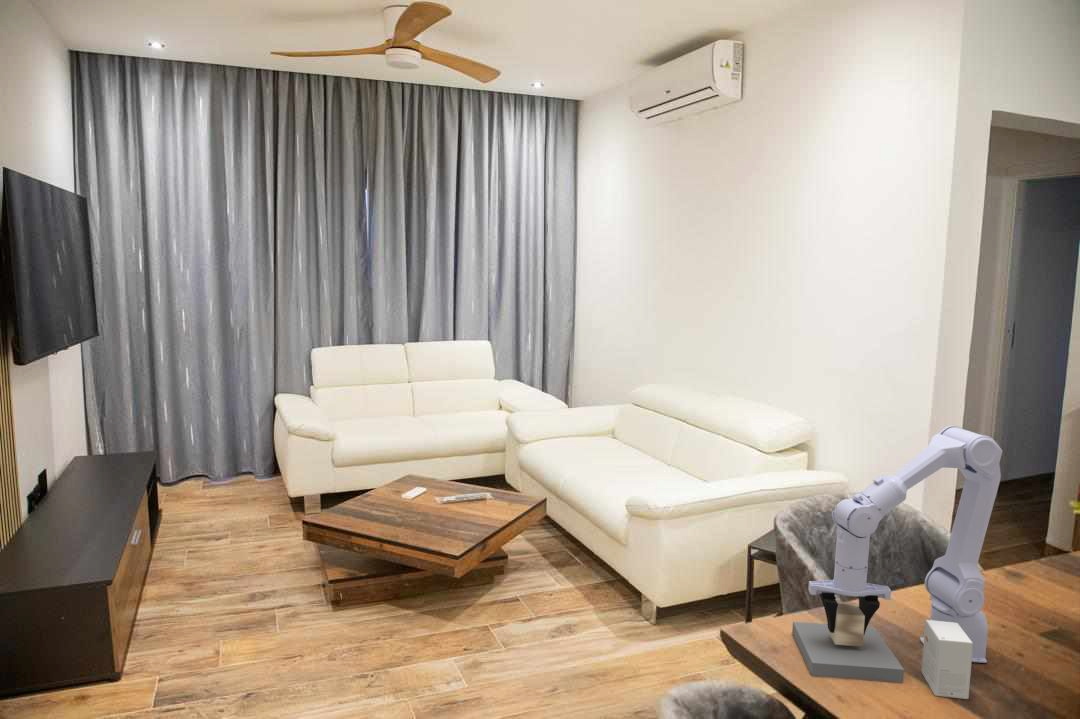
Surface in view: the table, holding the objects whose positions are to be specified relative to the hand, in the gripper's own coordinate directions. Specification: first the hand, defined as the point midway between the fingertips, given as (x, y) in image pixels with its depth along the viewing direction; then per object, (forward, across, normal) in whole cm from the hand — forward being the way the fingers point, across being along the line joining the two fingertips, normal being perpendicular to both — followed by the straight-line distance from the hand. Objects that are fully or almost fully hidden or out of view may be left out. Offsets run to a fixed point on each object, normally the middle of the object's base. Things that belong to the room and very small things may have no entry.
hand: (846, 631), depth 143 cm
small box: (+5, -15, +8) cm, 18 cm away
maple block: (+2, 0, 0) cm, 2 cm away
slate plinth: (+5, 0, 0) cm, 5 cm away
